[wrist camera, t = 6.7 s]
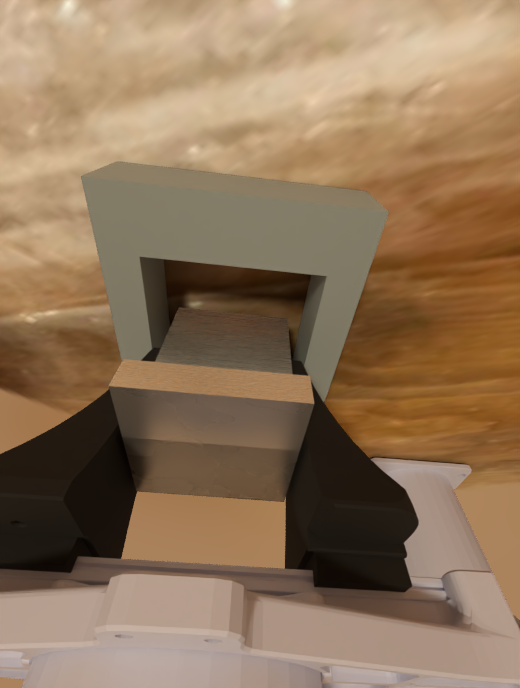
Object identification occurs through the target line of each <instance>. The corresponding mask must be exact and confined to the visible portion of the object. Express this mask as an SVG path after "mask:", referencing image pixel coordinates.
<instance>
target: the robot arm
mask: <svg viewBox="0 0 520 688" xmlns="http://www.w3.org/2000/svg"><path fill="white" fill-rule="evenodd" d="M160 349H161V348H155V347H154V348H153V349H151V350H150V351H149V352H148V353H147V354H146V356H145V357H144V358H143V359H142V360H141V361H151V362H155V361H156V358H157V356H158V354H159V351H160ZM291 362H292V373H293V374H294V375H305V376H308V374H307V372H306V369H305V367H304V365H303V363H302V362H301V361H297V360H291ZM311 385H312V392H313V398H314V407H313V410H312V413H311V416H310V419H309V423H308V426H307V429H306V432H305V436H304V439H303V442H302V445H301V448H300V452H299V455H298V458H297V461H296V465H295V468H294V471H293V474H292V477H291V481H290V484H289V487H288V490H287V494H286V546H285V569H278V568H262V567H245V566H229V565H213V564H197V563H179V562H164V561H146V560H129V559H121V557H122V552H123V548H124V543H125V539H126V534H127V529H128V526H129V521H130V517H131V513H132V509H133V505H134V501H135V497H136V493H137V491H136V487H135V484H134V480H133V476H132V472H131V469H130V465H129V461H128V457H127V453H126V450H125V446H124V442H123V438H122V435H121V431H120V427H119V423H118V420H117V416H116V412H115V408H114V404H113V401H112V397H111V393H110V389H109V390H108V391H107V392H105V393H104V394H103V395H102V396H100V397H99V398H98V399H96V400H95V401H94V402H92V403H91V404H90V405H88V406H87V407H85V408H84V409H83V410H81V411H80V412H78V413H77V414H75V415H73V416H72V417H70V418H69V419H67V420H65V421H64V422H62V423H61V424H59V425H57V426H56V427H54V428H52V429H50V430H48V431H47V432H45V433H43V434H41V435H39V436H37V437H35V438H33V439H31V440H29V441H27V442H26V443H23V444H22V445H19V446H17V447H15V448H13V449H11V450H8V451H6V452H4V453H2V454H0V677H2V678H14V679H25V680H24V682H23V685H22V687H21V688H520V620H519V619H518V618H516V617H515V616H514V615H513V614H512V612H511V610H510V607H509V605H508V603H507V601H506V599H505V597H504V595H503V593H502V591H501V589H500V586H499V584H498V582H497V580H496V578H495V576H494V574H493V572H492V570H491V568H490V565H489V563H488V562H487V559H486V557H485V555H484V553H483V551H482V549H481V547H480V544H479V542H478V540H477V538H476V536H475V534H474V532H473V530H472V528H471V526H470V524H469V521H468V519H467V517H466V515H465V513H464V511H463V509H462V507H461V505H460V503H459V501H458V498H457V496H456V494H455V492H454V490H455V489H456V488H457V487H458V486H459V485H460V484H461V482H462V481H463V480H464V479H465V478H466V477H467V476H468V475H469V474H470V473H471V472H472V470H471V468H470V466H469V465H466V464H453V463H440V462H427V461H414V460H402V459H389V458H372V459H370V458H369V457H368V456H367V455H366V454H365V453H364V452H363V451H362V450H361V449H360V448H359V447H358V446H357V445H356V444H355V443H354V442H353V441H352V440H351V438H350V437H349V436H348V435H347V434H346V433H345V431H344V430H343V429H342V428H341V426H340V425H339V424H338V422H337V421H336V420H335V418H334V417H333V416H332V414H331V413H330V411H329V410H328V408H327V407H326V405H325V404H324V402H323V401H322V399H321V397H320V396H319V394H318V392H317V391H316V389H315V387H314V385H313V383H312V381H311Z"/></svg>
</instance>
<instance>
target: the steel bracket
mask: <svg viewBox="0 0 520 688" xmlns="http://www.w3.org/2000/svg"><path fill="white" fill-rule="evenodd" d="M109 389H110V393H111V397H112V401H113V404H114V408H115V412H116V416H117V420H118V423H119V427H120V431H121V435H122V438H123V442H124V446H125V450H126V453H127V457H128V461H129V465H130V469H131V472H132V476H133V480H134V484H135V487H136V491H139V492H153V493H167V494H182V495H195V496H209V497H210V496H211V497H223V498H224V497H225V498H238V499H251V500H252V499H253V500H266V501H280V502H284V500H285V497H286V494H287V490H288V487H289V484H290V481H291V477H292V474H293V471H294V468H295V465H296V461H297V458H298V455H299V452H300V448H301V445H302V442H303V439H304V436H305V432H306V429H307V426H308V423H309V419H310V416H311V413H312V410H313V407H314V398H313V392H312V385H311V379H310V376H305V375H294V374H293V373H292V362H291V352H290V341H289V330H288V319H287V318H279V317H269V316H259V315H249V314H239V313H229V312H219V311H209V310H199V309H189V308H178V310H177V313H176V315H175V317H174V319H173V322H172V324H171V326H170V329H169V331H168V333H167V335H166V338H165V340H164V342H163V345H162V347H161V349H160V351H159V354H158V356H157V358H156V361H155V362H151V361H140V360H129V359H124V360H123V361H122V363H121V365H120V367H119V368H118V370H117V372H116V374H115V376H114V377H113V379H112V381H111V383H110V384H109Z"/></svg>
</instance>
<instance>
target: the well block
mask: <svg viewBox="0 0 520 688" xmlns="http://www.w3.org/2000/svg"><path fill="white" fill-rule="evenodd" d="M81 179H82V183H83V188H84V192H85V197H86V201H87V206H88V210H89V215H90V219H91V224H92V228H93V233H94V237H95V242H96V247H97V251H98V256H99V260H100V265H101V269H102V274H103V278H104V283H105V287H106V292H107V296H108V301H109V305H110V310H111V314H112V319H113V323H114V328H115V332H116V337H117V341H118V346H119V350H120V355H121V359H122V361H123V360H124V359H129V360H140V361H141V360H142V359H143V358H144V357H145V356H146V354H147V353H148V352H149V351H150V350H151V349H153V348H154V347H155V348H161V347H162V345H163V342H164V340H165V338H166V335H167V333H168V331H169V329H170V322H169V311H168V300H167V288H166V277H165V266H164V259H168V260H177V261H187V262H196V263H206V264H215V265H225V266H234V267H244V268H253V269H263V270H272V271H282V272H291V273H301V274H310V275H311V277H310V282H309V286H308V291H307V295H306V300H305V304H304V309H303V313H302V318H301V323H300V327H299V332H298V336H297V341H296V345H295V350H294V354H293V359H292V360H297V361H301V362H302V363H303V365H304V367H305V369H306V372H307V374H308V376H310V379H311V381H312V383H313V385H314V387H315V389H316V391H317V392H318V394H319V396H320V397H321V399H322V401H323V402H325V399H326V396H327V393H328V390H329V387H330V384H331V381H332V378H333V375H334V372H335V369H336V366H337V364H338V361H339V358H340V355H341V352H342V349H343V346H344V343H345V340H346V337H347V334H348V331H349V328H350V325H351V322H352V319H353V316H354V314H355V311H356V308H357V305H358V302H359V299H360V296H361V293H362V290H363V287H364V284H365V281H366V278H367V275H368V272H369V269H370V266H371V263H372V261H373V258H374V255H375V252H376V249H377V246H378V243H379V240H380V237H381V234H382V231H383V228H384V225H385V222H386V219H387V216H388V213H389V211H388V210H387V209H385V208H384V207H383V206H382V205H381V204H380V203H379V202H378V201H377V200H376V199H375V198H373V197H372V196H371V195H370V194H369V193H368V192H367V191H361V190H352V189H344V188H336V187H327V186H319V185H310V184H302V183H294V182H285V181H277V180H268V179H260V178H252V177H243V176H235V175H226V174H218V173H209V172H201V171H193V170H184V169H176V168H167V167H159V166H151V165H142V164H134V163H125V162H114V163H112V164H109V165H107V166H105V167H102V168H100V169H97V170H95V171H92V172H90V173H87V174H85V175H82V176H81Z"/></svg>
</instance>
